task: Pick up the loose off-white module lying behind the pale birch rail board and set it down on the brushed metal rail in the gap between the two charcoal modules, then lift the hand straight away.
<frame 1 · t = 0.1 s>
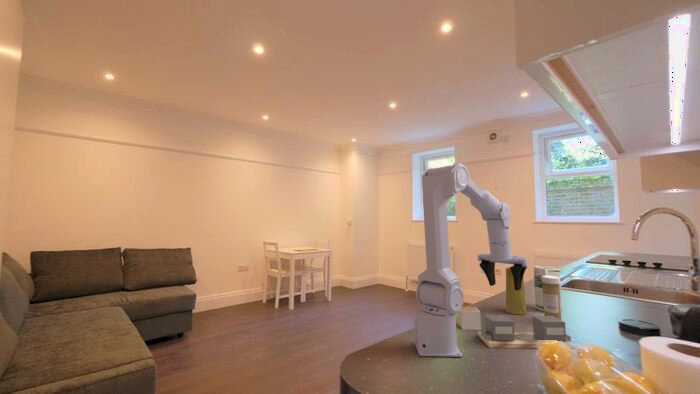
hand: (505, 287, 92), 10 cm above the counter, tool pointing down, fingers open, 7 cm apart
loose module: (469, 327, 89), on the counter
vase: (516, 313, 103), on the counter
rail board: (524, 342, 77), on the counter
sprinkles bottle: (552, 323, 92), on the counter
syrup box: (548, 311, 105), on the counter
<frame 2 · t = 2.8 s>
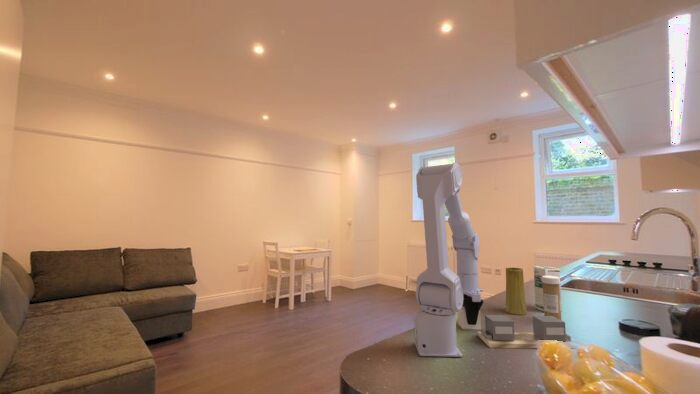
hand: (469, 321, 89), 1 cm above the counter, tool pointing down, fingers closed on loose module, 4 cm apart
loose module: (469, 326, 89), on the counter, touching gripper
everything else where it was.
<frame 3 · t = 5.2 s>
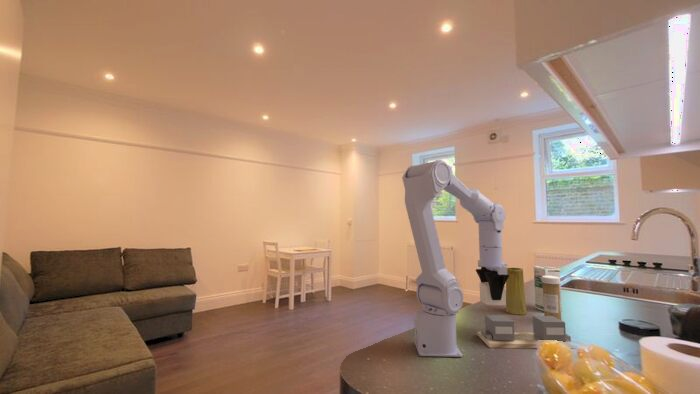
hand: (492, 297, 84), 9 cm above the counter, tool pointing down, fingers closed on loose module, 4 cm apart
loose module: (492, 302, 84), point 8 cm above the counter, touching gripper
everything else where it was.
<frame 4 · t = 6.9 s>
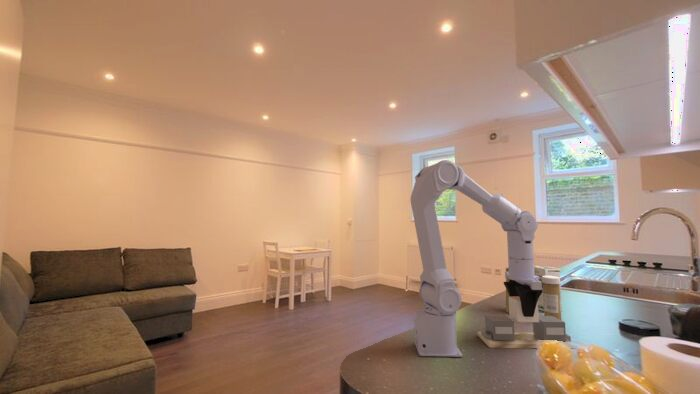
hand: (523, 313, 78), 7 cm above the counter, tool pointing down, fingers closed on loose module, 4 cm apart
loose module: (523, 319, 78), point 6 cm above the counter, touching gripper
everything else where it was.
when the fingers open (4 cm above the counter, at t = 8.1 s): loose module stays where it is, resting on rail board.
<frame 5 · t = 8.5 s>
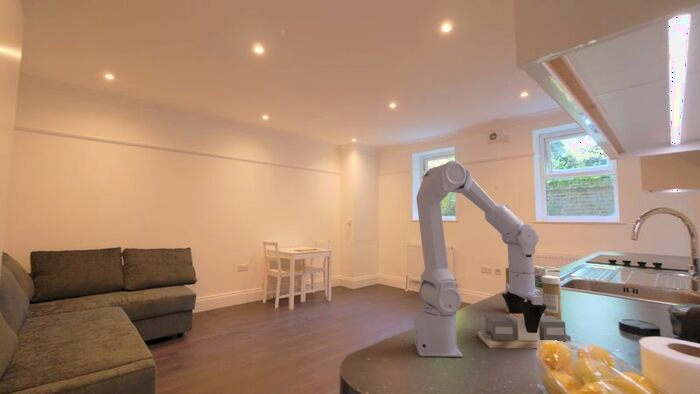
hand: (523, 327, 78), 4 cm above the counter, tool pointing down, fingers open, 7 cm apart
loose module: (524, 337, 77), point 1 cm above the counter, touching rail board
everything else where it was.
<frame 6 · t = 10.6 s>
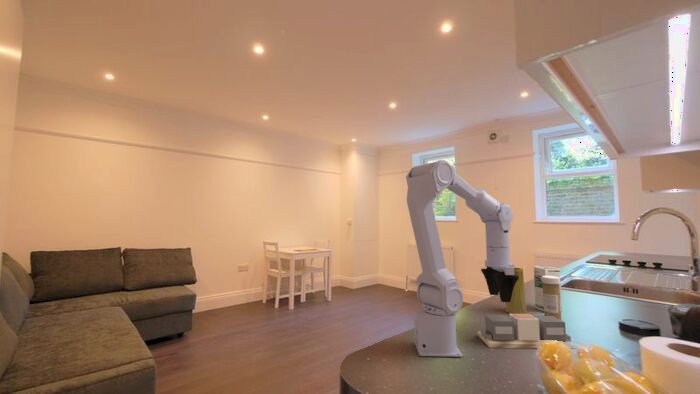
hand: (499, 298, 83), 9 cm above the counter, tool pointing down, fingers open, 7 cm apart
nothing on the counter moved.
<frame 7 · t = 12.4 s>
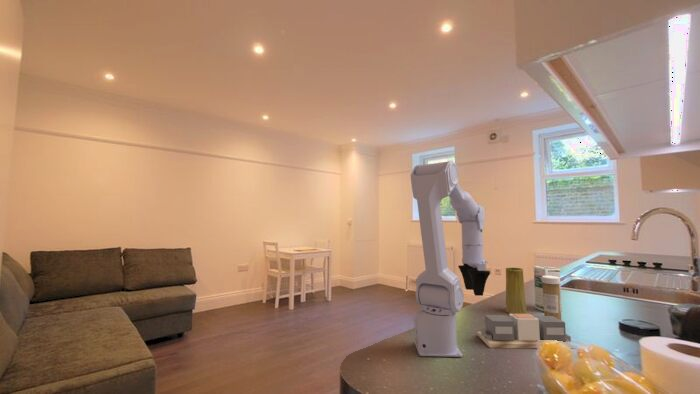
hand: (474, 292, 90), 9 cm above the counter, tool pointing down, fingers open, 7 cm apart
nothing on the counter moved.
at the end: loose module 0.0 cm off-centre on the rail board, point 1.2 cm above the rail board's base; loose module tilted 0°; the gripper is holding nothing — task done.
